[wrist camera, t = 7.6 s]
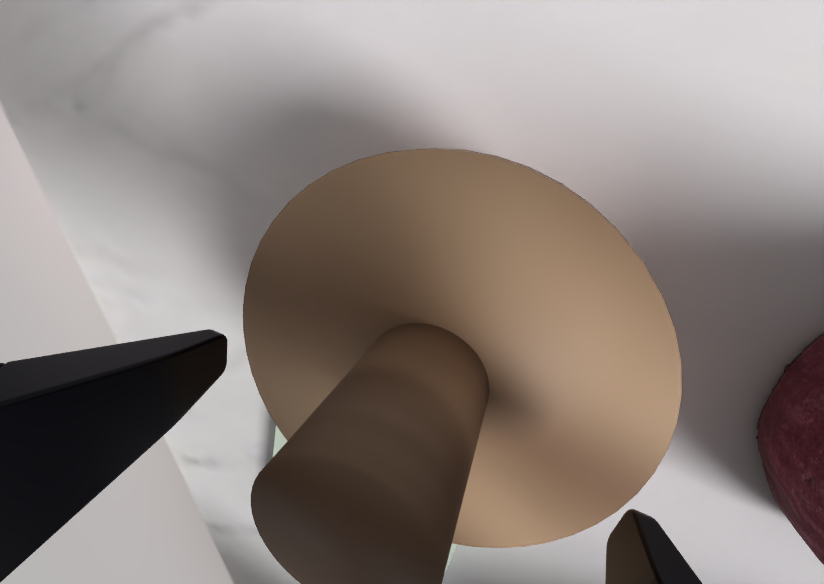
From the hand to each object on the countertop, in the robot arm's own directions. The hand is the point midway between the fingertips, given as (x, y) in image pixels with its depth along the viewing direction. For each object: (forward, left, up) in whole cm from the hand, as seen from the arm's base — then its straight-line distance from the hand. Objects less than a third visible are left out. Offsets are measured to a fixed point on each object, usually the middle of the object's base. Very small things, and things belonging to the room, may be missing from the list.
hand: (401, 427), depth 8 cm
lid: (0, 0, -3) cm, 3 cm away
